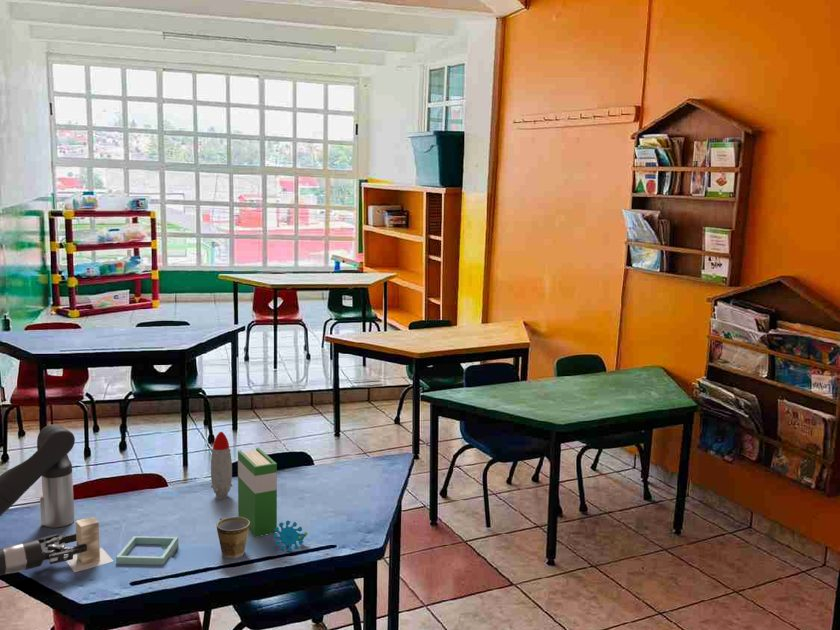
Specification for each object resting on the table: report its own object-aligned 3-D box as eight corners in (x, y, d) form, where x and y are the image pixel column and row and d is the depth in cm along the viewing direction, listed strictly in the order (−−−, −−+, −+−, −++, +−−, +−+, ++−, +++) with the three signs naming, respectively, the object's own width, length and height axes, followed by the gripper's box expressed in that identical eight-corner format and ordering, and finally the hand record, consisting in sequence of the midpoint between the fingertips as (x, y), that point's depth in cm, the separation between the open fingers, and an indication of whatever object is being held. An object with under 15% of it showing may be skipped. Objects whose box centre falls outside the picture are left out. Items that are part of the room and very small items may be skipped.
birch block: (82, 565, 217) (80, 526, 215) (77, 558, 221) (75, 520, 219) (100, 560, 220) (98, 522, 219) (94, 553, 224) (93, 516, 222)
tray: (116, 568, 219) (115, 557, 219) (134, 546, 233) (133, 535, 232) (163, 569, 219) (163, 558, 219) (178, 547, 233) (178, 537, 233)
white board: (74, 577, 213) (74, 572, 213) (63, 562, 221) (63, 557, 221) (113, 565, 220) (113, 561, 220) (101, 552, 229) (101, 547, 228)
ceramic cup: (256, 554, 230) (255, 524, 229) (227, 564, 223) (227, 533, 222) (234, 540, 239) (234, 510, 238) (206, 549, 232) (205, 519, 231)
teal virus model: (274, 550, 230) (273, 519, 235) (270, 557, 234) (269, 526, 240) (309, 549, 234) (307, 519, 240) (304, 556, 238) (302, 526, 244)
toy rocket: (224, 490, 279) (224, 426, 275) (236, 497, 274) (235, 432, 270) (206, 495, 274) (205, 430, 270) (218, 502, 268) (217, 436, 264)
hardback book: (238, 517, 257) (237, 450, 253) (258, 512, 260) (258, 447, 257) (255, 537, 242) (254, 467, 238) (276, 532, 246) (276, 463, 242)
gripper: (15, 559, 213) (75, 545, 224) (28, 579, 203) (90, 563, 213) (14, 535, 212) (74, 521, 223) (27, 553, 202) (89, 538, 212)
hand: (82, 541), depth 218 cm, fingers open, 8 cm apart
